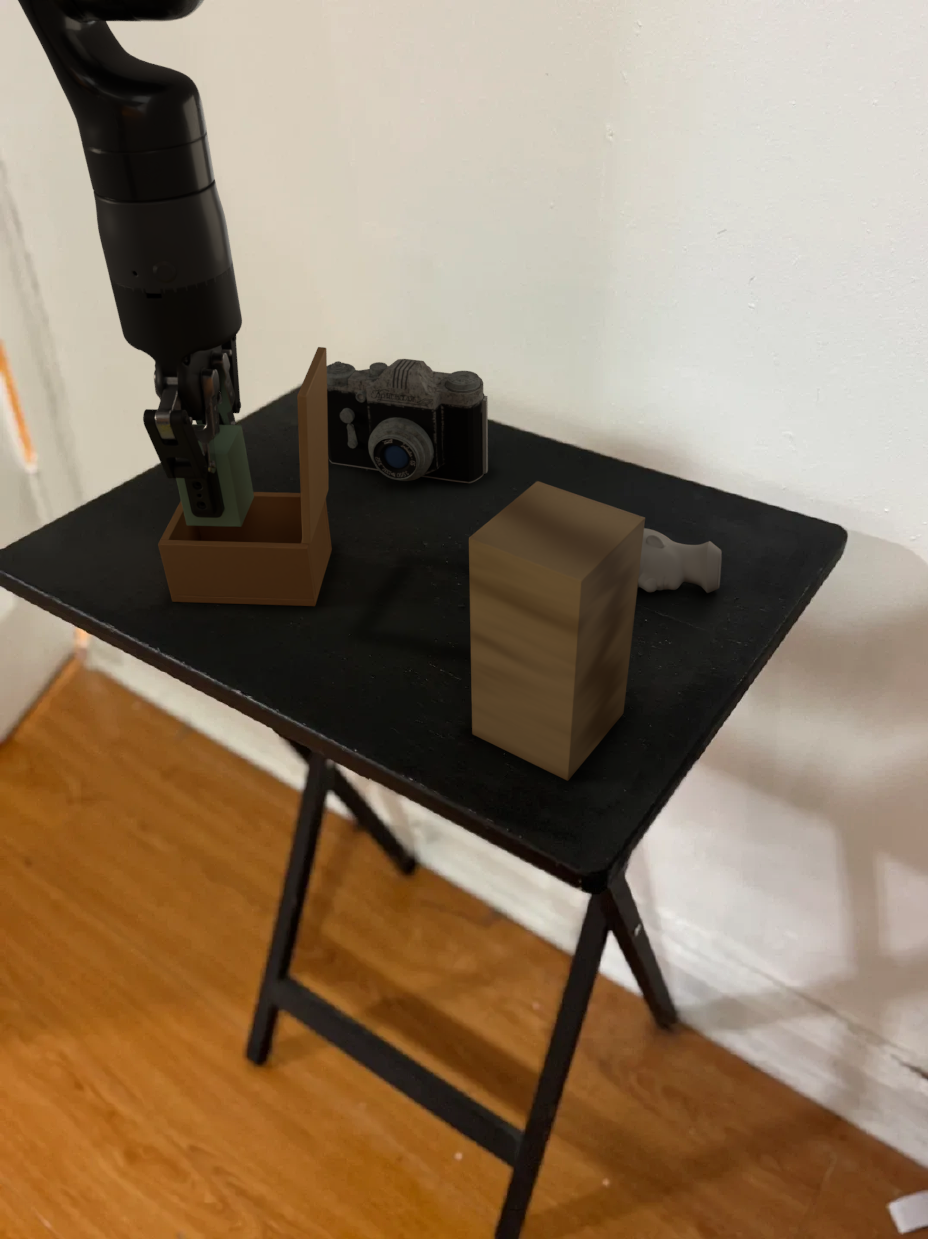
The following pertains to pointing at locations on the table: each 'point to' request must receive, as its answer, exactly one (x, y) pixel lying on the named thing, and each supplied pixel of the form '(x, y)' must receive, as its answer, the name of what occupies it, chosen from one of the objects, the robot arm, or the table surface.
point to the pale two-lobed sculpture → (677, 564)
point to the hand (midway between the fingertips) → (217, 496)
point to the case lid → (313, 443)
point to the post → (552, 624)
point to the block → (226, 480)
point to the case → (248, 556)
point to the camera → (408, 421)
